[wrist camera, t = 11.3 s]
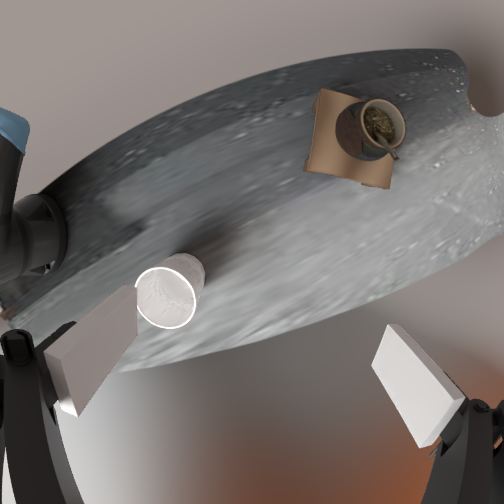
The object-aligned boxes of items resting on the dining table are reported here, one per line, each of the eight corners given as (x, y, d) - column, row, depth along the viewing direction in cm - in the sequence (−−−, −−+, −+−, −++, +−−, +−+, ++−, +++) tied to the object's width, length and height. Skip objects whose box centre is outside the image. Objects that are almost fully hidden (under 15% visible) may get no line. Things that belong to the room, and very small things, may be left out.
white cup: (175, 238, 39) (150, 253, 29) (219, 267, 40) (208, 292, 30) (151, 280, 40) (124, 304, 31) (193, 307, 41) (177, 340, 32)
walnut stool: (301, 172, 37) (309, 168, 31) (312, 101, 34) (321, 87, 28) (371, 188, 37) (389, 189, 31) (379, 121, 35) (397, 112, 29)
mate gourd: (374, 107, 29) (413, 85, 19) (387, 162, 31) (431, 157, 21) (324, 110, 29) (351, 83, 19) (337, 168, 31) (370, 162, 21)
